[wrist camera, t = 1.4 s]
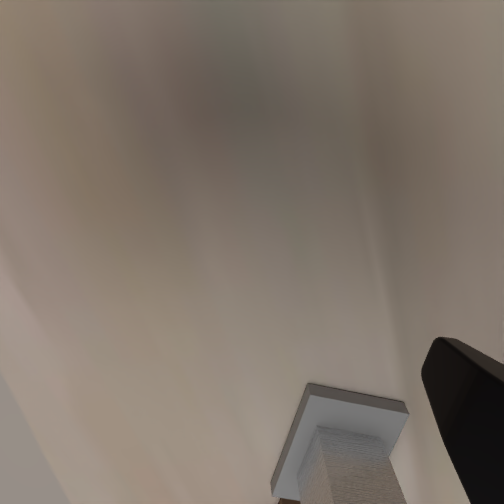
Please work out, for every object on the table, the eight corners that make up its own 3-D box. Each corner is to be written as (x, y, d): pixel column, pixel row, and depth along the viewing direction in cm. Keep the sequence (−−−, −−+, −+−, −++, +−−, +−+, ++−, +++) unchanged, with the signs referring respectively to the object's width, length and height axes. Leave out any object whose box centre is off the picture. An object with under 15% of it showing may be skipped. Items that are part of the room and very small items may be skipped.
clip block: (381, 437, 27) (418, 534, 21) (358, 486, 28) (387, 588, 23) (316, 425, 26) (337, 520, 21) (296, 475, 28) (311, 577, 22)
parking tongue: (403, 402, 27) (409, 414, 26) (358, 497, 30) (362, 511, 29) (307, 383, 27) (310, 394, 26) (270, 482, 29) (271, 496, 28)
